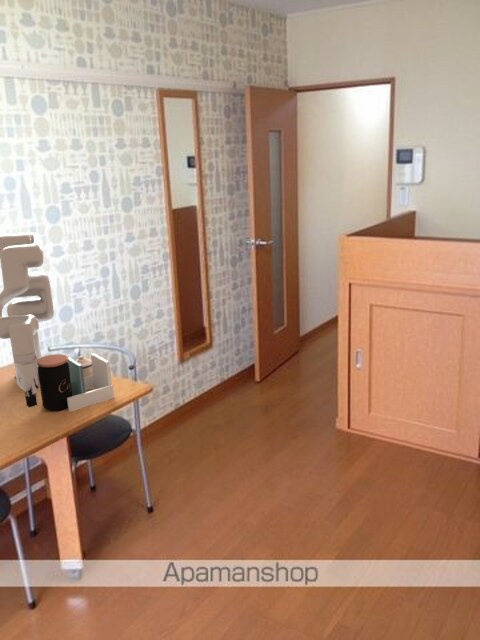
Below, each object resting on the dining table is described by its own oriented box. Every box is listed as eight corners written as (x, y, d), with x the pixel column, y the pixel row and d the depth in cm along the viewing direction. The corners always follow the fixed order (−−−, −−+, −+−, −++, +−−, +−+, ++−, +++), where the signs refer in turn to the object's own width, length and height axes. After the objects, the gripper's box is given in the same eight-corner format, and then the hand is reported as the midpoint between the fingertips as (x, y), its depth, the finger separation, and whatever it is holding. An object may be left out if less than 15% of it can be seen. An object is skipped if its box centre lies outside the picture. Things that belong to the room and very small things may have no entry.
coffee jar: (65, 413, 210) (58, 365, 205) (37, 411, 212) (30, 364, 207) (78, 400, 220) (73, 354, 215) (52, 399, 222) (46, 353, 217)
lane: (53, 398, 223) (48, 363, 219) (96, 386, 233) (92, 352, 229) (69, 411, 211) (64, 374, 207) (114, 397, 222) (110, 362, 218)
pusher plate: (69, 394, 225) (65, 357, 221) (73, 393, 226) (68, 356, 221) (83, 404, 216) (78, 365, 212) (86, 403, 217) (82, 365, 212)
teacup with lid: (98, 386, 233) (95, 358, 230) (74, 390, 229) (71, 362, 226) (91, 375, 243) (88, 348, 240) (68, 380, 240) (65, 352, 236)
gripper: (6, 353, 208) (14, 402, 214) (21, 365, 197) (29, 416, 202) (28, 348, 213) (35, 396, 218) (43, 359, 201) (50, 409, 207)
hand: (32, 405), depth 210 cm, fingers closed
